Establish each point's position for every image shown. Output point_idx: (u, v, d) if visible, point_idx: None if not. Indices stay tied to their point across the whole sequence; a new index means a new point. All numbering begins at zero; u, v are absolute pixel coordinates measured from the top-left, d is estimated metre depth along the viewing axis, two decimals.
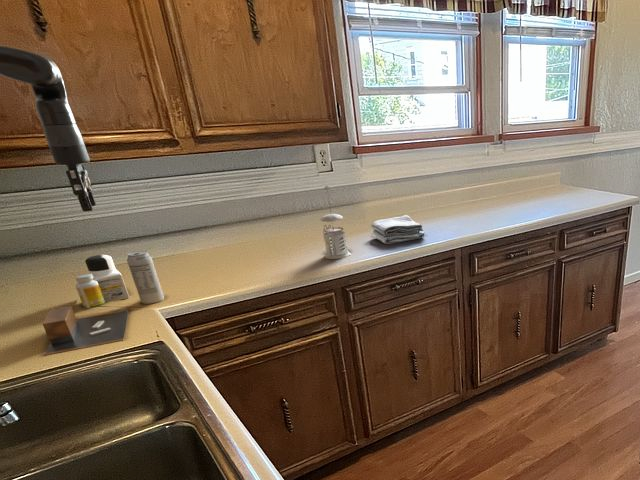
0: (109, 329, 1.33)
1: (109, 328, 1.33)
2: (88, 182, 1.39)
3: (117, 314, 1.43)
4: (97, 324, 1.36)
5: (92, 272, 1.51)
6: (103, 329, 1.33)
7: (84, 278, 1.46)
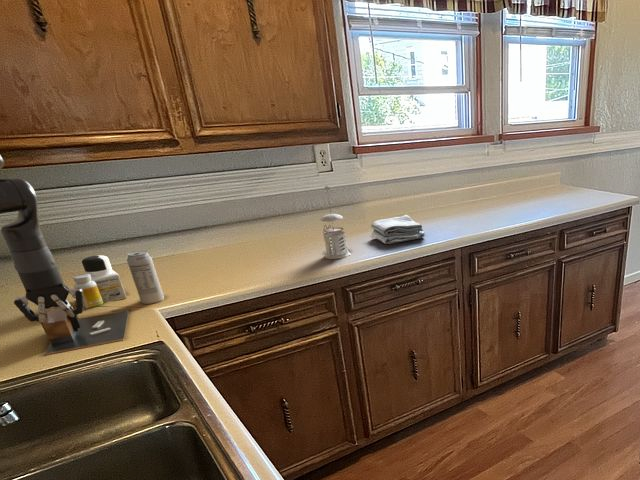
0: (109, 329, 1.33)
1: (109, 328, 1.33)
2: None
3: (117, 314, 1.43)
4: (97, 324, 1.36)
5: (89, 273, 1.50)
6: (103, 329, 1.33)
7: (83, 279, 1.45)
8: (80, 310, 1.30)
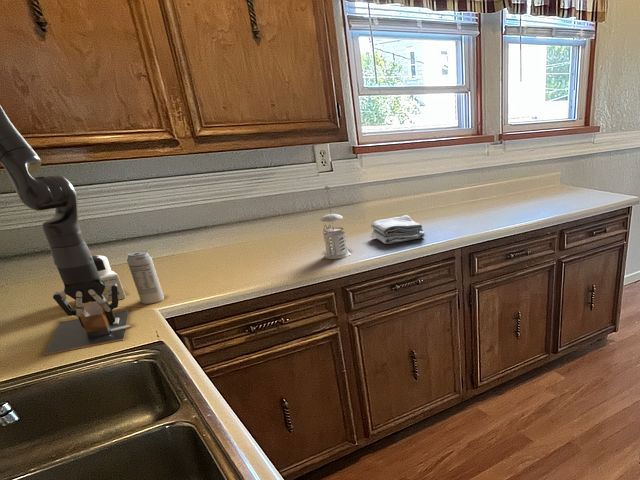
0: (129, 326, 1.34)
1: (129, 325, 1.35)
2: (97, 301, 1.31)
3: (117, 314, 1.43)
4: (115, 320, 1.38)
5: None
6: (124, 326, 1.34)
7: None
8: (115, 305, 1.33)
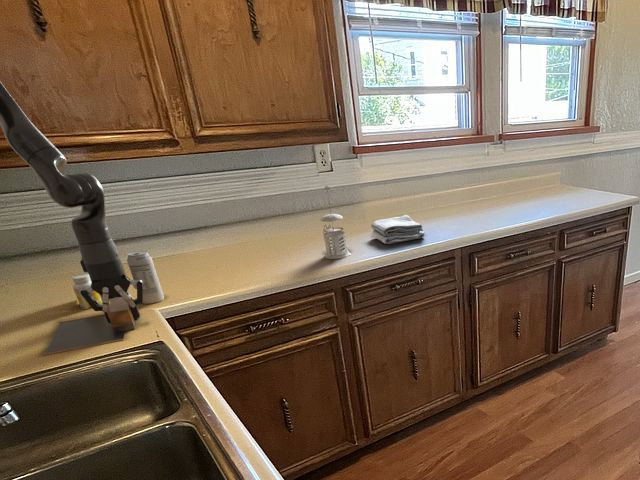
0: None
1: None
2: (123, 297, 1.33)
3: None
4: None
5: None
6: None
7: (82, 279, 1.45)
8: (140, 300, 1.35)
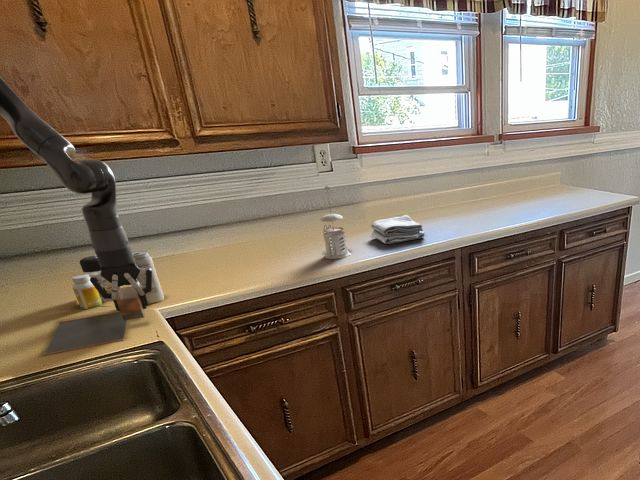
0: None
1: None
2: (132, 285, 1.33)
3: (117, 314, 1.43)
4: None
5: (87, 273, 1.50)
6: None
7: (82, 279, 1.45)
8: (149, 289, 1.35)
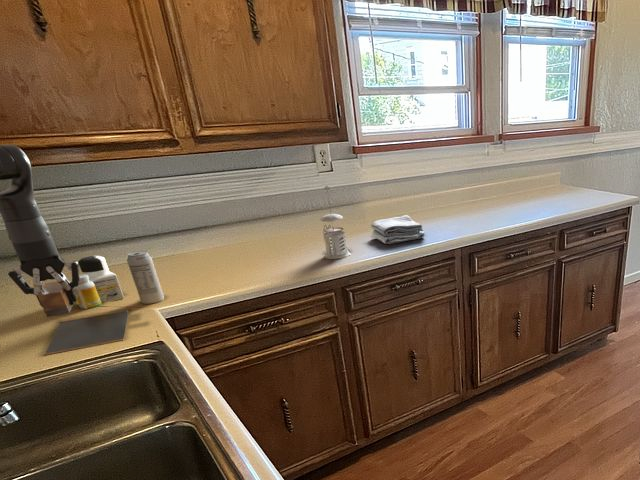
0: None
1: None
2: (56, 279, 1.25)
3: (117, 314, 1.43)
4: None
5: (86, 273, 1.50)
6: None
7: (81, 279, 1.45)
8: (76, 283, 1.27)
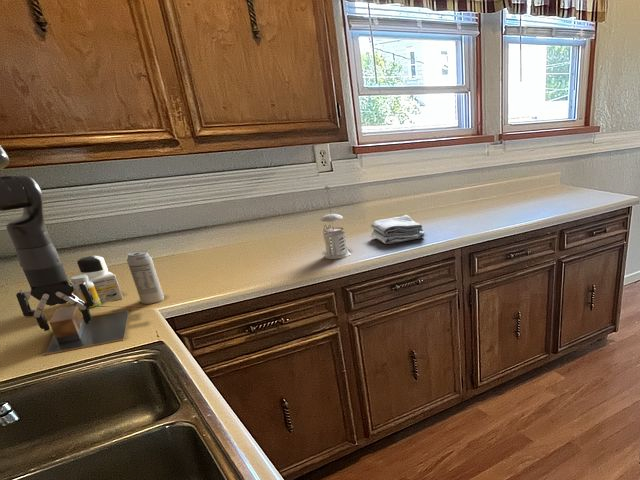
0: None
1: None
2: (69, 302, 1.28)
3: (117, 314, 1.43)
4: None
5: (85, 273, 1.50)
6: None
7: (80, 279, 1.45)
8: (91, 302, 1.30)
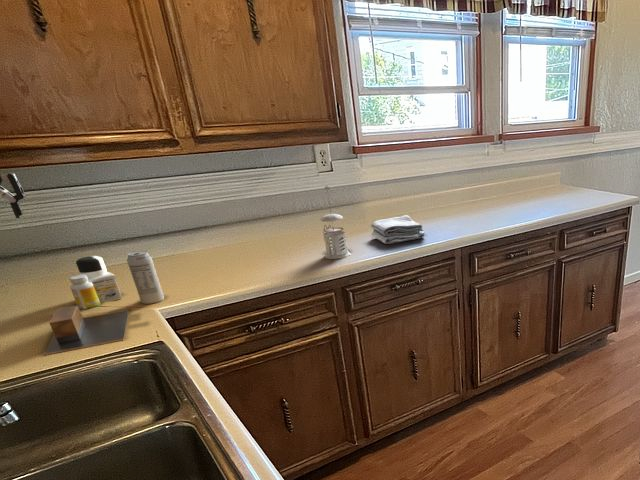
0: None
1: None
2: None
3: (117, 314, 1.43)
4: None
5: (84, 273, 1.50)
6: None
7: (80, 279, 1.45)
8: (21, 195, 1.26)
